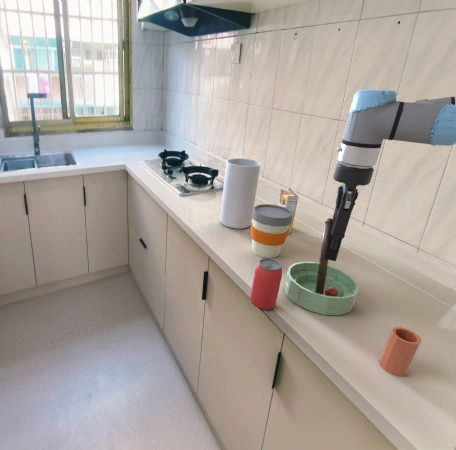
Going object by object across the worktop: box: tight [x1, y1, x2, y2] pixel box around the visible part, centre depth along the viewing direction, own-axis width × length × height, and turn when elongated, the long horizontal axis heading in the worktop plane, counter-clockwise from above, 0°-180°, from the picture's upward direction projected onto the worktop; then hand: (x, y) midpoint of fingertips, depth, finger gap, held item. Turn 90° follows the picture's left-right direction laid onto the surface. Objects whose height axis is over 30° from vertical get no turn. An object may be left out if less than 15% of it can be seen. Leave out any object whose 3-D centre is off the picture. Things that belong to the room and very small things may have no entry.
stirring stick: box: [315, 217, 334, 295], centre depth 85 cm, size 2×2×22 cm
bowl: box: [283, 261, 360, 317], centre depth 91 cm, size 17×17×6 cm
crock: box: [378, 326, 422, 377], centre depth 68 cm, size 5×5×9 cm
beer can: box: [249, 257, 283, 311], centre depth 87 cm, size 7×7×12 cm
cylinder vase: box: [219, 157, 262, 230], centre depth 132 cm, size 12×12×25 cm
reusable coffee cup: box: [250, 203, 292, 259], centre depth 112 cm, size 12×13×15 cm
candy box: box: [277, 188, 299, 234], centre depth 130 cm, size 9×4×15 cm, turn 177°
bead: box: [324, 287, 338, 297], centre depth 90 cm, size 3×3×3 cm
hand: (329, 256), depth 84 cm, fingers closed on stirring stick, 2 cm apart
